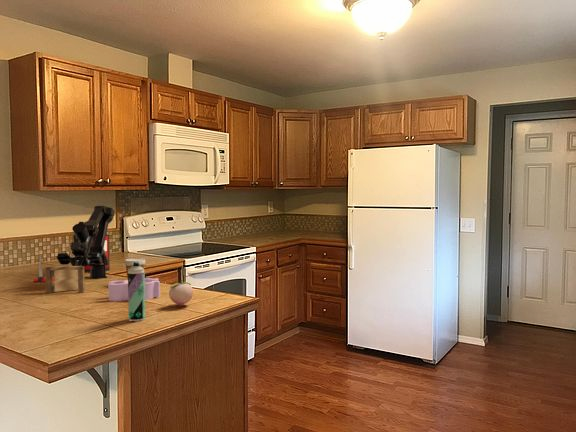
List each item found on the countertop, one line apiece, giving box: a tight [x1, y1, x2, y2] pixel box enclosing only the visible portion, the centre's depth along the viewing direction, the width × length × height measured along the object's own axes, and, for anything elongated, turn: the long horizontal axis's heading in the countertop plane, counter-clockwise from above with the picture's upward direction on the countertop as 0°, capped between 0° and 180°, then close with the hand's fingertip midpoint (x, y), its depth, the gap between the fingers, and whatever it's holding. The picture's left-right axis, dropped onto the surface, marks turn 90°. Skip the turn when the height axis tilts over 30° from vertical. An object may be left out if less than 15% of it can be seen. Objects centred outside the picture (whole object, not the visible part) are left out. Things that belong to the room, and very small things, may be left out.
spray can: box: [127, 262, 146, 322], centre depth 161 cm, size 6×6×20 cm
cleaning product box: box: [72, 233, 110, 273], centre depth 257 cm, size 16×9×20 cm, turn 69°
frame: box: [44, 265, 86, 294], centre depth 203 cm, size 16×2×11 cm, turn 93°
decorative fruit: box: [168, 280, 194, 306], centre depth 180 cm, size 9×8×10 cm
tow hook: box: [33, 255, 54, 283], centre depth 230 cm, size 8×13×9 cm
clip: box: [107, 277, 161, 302], centre depth 194 cm, size 20×12×7 cm, turn 110°
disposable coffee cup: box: [124, 257, 147, 279], centre depth 219 cm, size 10×10×12 cm
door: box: [52, 270, 78, 293], centre depth 206 cm, size 11×2×10 cm, turn 123°
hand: (74, 273), depth 208 cm, fingers closed
